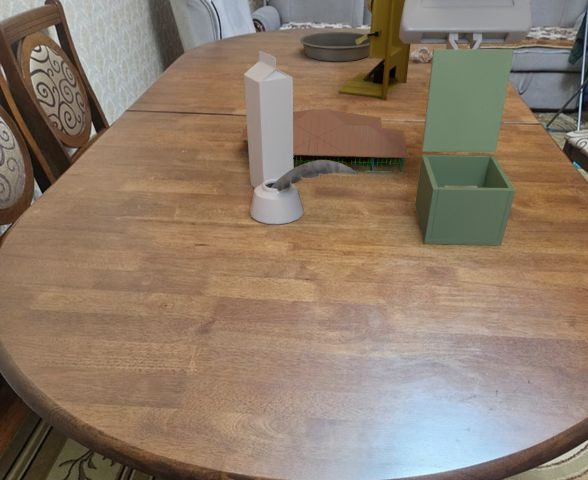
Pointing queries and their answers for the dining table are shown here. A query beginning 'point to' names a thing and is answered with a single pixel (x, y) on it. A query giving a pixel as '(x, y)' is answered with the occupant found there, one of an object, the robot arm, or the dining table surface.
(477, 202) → the chest
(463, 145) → the lid
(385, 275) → the dining table surface
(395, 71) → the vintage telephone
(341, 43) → the cake pan
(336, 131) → the house
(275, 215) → the inkwell
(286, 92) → the milk
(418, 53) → the beige rough lump
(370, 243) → the dining table surface
